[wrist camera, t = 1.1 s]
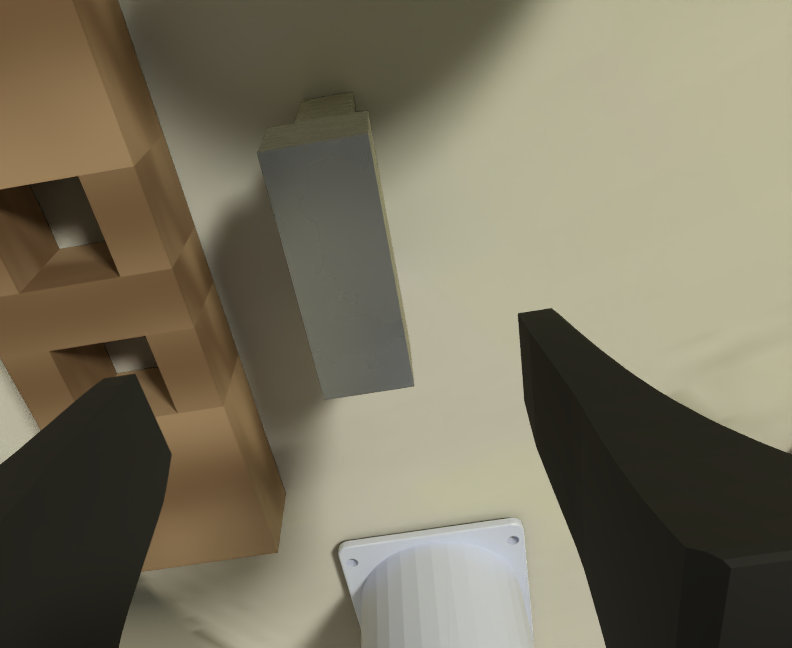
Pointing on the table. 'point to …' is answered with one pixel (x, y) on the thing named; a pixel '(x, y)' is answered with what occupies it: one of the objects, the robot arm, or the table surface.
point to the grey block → (338, 246)
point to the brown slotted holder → (122, 276)
